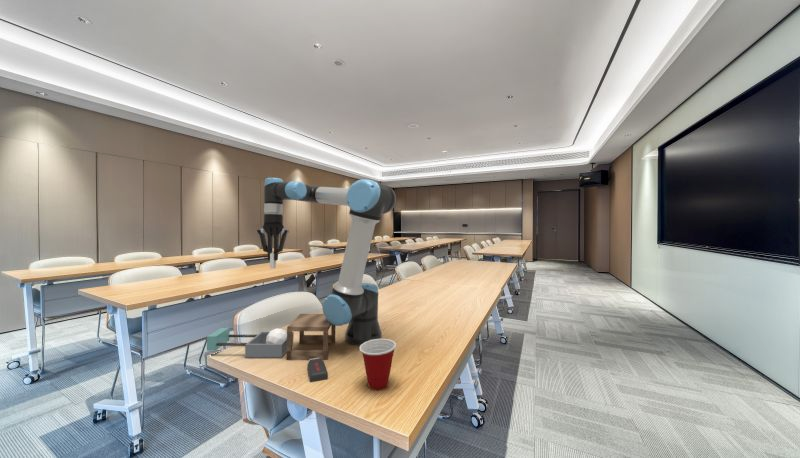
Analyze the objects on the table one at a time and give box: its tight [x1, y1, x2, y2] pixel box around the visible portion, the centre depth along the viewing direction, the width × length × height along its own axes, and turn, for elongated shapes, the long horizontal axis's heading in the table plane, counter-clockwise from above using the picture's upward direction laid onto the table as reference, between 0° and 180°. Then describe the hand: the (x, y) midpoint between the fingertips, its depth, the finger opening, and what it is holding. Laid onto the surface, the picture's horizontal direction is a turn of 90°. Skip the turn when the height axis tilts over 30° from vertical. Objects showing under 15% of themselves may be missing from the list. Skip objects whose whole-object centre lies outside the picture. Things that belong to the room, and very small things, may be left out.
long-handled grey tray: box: [206, 327, 295, 358], centre depth 106 cm, size 27×13×7 cm, turn 93°
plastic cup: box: [359, 338, 397, 391], centre depth 85 cm, size 11×11×12 cm
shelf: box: [286, 313, 336, 361], centre depth 107 cm, size 14×15×12 cm
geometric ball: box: [266, 328, 287, 344], centre depth 108 cm, size 8×8×8 cm
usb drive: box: [307, 358, 329, 383], centre depth 92 cm, size 5×12×3 cm, turn 23°
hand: (272, 268), depth 125 cm, fingers closed
